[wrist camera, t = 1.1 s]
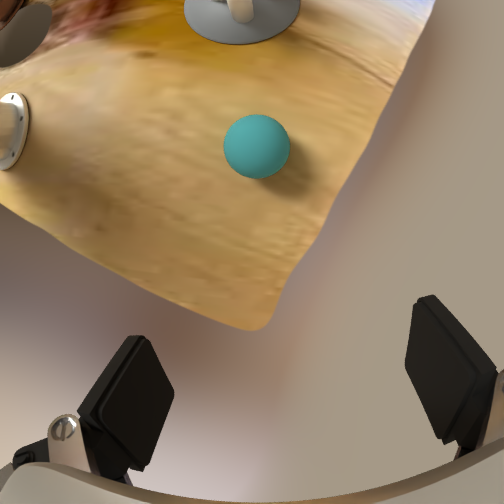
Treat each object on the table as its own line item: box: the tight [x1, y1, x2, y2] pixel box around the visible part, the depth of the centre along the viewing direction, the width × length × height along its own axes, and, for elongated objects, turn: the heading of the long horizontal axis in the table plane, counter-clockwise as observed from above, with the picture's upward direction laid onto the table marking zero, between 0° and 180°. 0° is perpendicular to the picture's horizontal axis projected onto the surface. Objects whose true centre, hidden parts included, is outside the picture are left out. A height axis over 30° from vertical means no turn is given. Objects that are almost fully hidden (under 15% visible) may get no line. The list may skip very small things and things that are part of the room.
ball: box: [224, 115, 290, 179], centre depth 24 cm, size 6×6×6 cm
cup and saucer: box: [0, 0, 24, 30], centre depth 14 cm, size 12×12×6 cm
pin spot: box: [184, 0, 300, 44], centre depth 20 cm, size 13×13×1 cm
